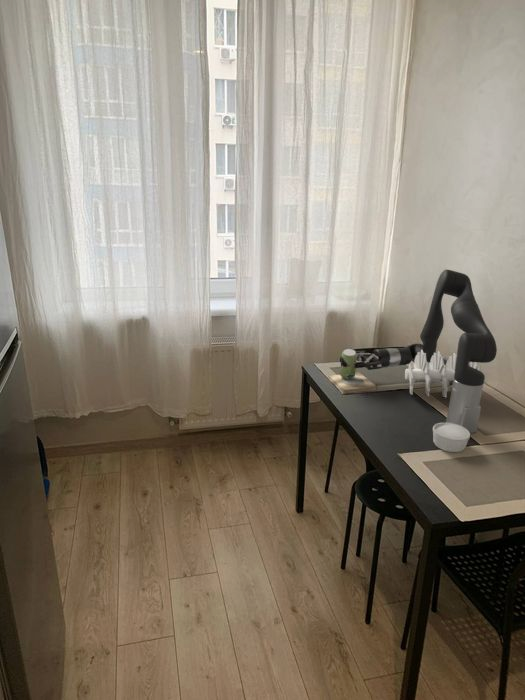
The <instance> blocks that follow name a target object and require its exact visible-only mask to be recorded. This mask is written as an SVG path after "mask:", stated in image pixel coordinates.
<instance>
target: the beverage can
mask: <svg viewBox="0 0 525 700" xmlns="http://www.w3.org/2000/svg"><path fill="white" fill-rule="evenodd" d="M355 351H356V350H355V349H352V348H345V349H344V350H343V351H342V353H341V355H340V368H339V374H340V376H341V377H343V378H345V379H351V378H353V377H354V376H355V373H356V370H357V368H355V367H354V363H355V362H357V361H358V360H357V354H356V352H355Z"/></svg>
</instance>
